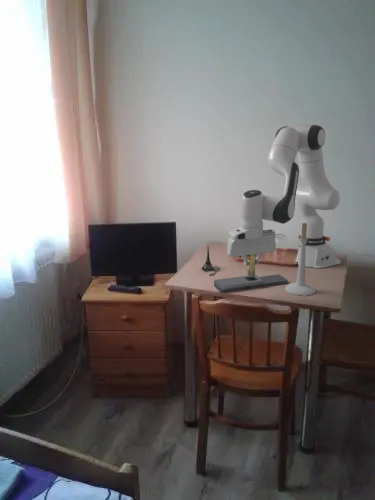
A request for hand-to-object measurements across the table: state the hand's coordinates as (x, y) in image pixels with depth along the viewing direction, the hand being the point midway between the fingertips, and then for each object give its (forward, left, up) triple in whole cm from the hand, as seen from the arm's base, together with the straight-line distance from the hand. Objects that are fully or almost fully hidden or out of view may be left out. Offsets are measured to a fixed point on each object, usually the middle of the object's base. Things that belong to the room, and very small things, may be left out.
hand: (251, 264), depth 183 cm
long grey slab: (-6, -12, -14) cm, 19 cm away
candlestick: (-23, +1, -14) cm, 27 cm away
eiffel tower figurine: (+6, -36, -15) cm, 40 cm away
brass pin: (0, 0, -5) cm, 5 cm away
